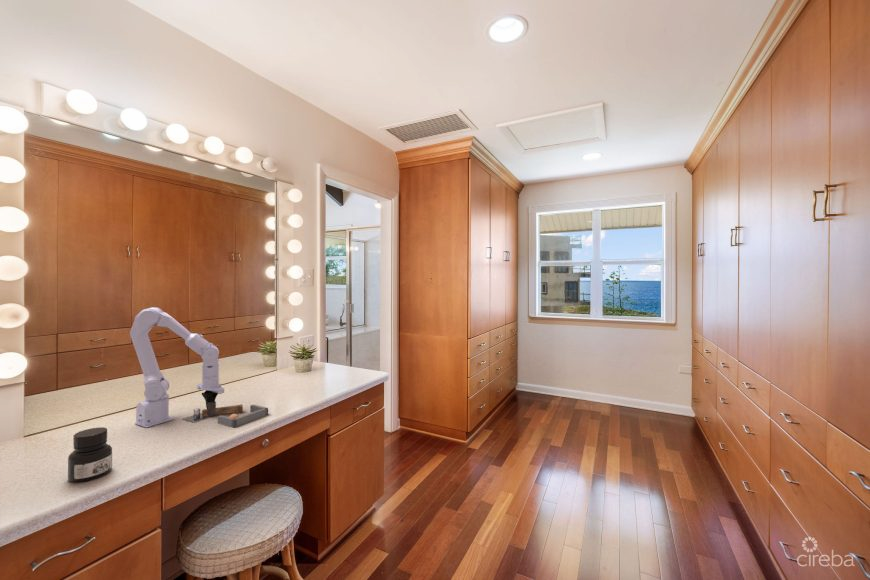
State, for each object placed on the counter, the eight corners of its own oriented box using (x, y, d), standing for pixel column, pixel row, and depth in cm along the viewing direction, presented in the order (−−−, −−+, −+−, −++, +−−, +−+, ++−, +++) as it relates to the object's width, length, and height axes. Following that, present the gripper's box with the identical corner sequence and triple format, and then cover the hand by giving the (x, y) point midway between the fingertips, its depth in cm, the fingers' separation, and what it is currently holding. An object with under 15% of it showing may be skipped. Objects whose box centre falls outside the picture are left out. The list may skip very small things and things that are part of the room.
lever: (201, 417, 141) (201, 405, 141) (202, 414, 144) (202, 403, 144) (242, 412, 148) (242, 400, 148) (242, 409, 151) (242, 398, 151)
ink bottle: (76, 487, 94) (77, 441, 94) (58, 480, 97) (58, 436, 97) (120, 469, 103) (121, 428, 103) (102, 463, 106) (102, 423, 106)
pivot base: (193, 422, 138) (193, 413, 138) (182, 419, 141) (182, 410, 141) (211, 416, 144) (211, 408, 144) (200, 413, 147) (200, 405, 147)
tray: (233, 427, 133) (233, 420, 133) (217, 423, 137) (217, 416, 137) (268, 414, 147) (268, 408, 147) (252, 411, 151) (253, 404, 151)
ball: (229, 415, 139) (232, 423, 139) (225, 417, 136) (228, 425, 136) (238, 411, 140) (241, 419, 140) (234, 413, 137) (238, 421, 136)
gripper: (231, 375, 147) (231, 408, 147) (209, 371, 153) (209, 402, 154) (214, 379, 141) (214, 413, 141) (192, 375, 147) (191, 408, 147)
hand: (210, 408), depth 147 cm, fingers closed, pressing on lever
